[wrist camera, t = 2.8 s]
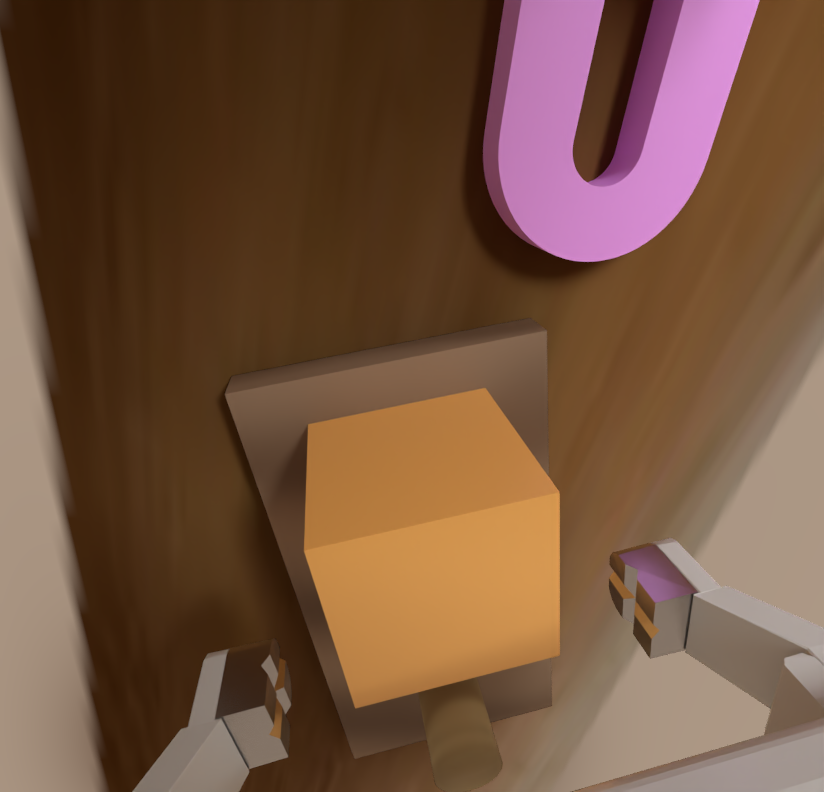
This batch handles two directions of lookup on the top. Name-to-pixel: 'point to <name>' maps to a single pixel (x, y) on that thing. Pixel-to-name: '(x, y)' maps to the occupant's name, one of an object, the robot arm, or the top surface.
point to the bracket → (640, 133)
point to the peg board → (285, 505)
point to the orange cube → (431, 545)
